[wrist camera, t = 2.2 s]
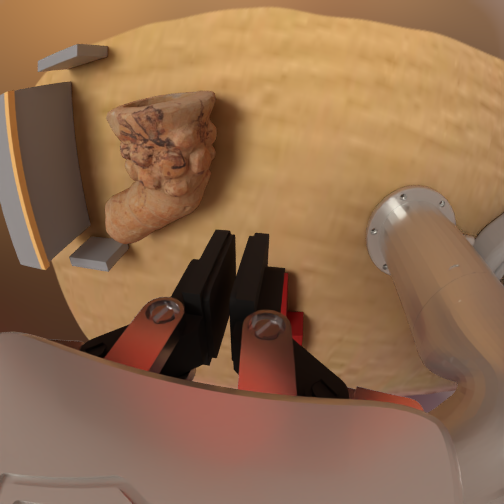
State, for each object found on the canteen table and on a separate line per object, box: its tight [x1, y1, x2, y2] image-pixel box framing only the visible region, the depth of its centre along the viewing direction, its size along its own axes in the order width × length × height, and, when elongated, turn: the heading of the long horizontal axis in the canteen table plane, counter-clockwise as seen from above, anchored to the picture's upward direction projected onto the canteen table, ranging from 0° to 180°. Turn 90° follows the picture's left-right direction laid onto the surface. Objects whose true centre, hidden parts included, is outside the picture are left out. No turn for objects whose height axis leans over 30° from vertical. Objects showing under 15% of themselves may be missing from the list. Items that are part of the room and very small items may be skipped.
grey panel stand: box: [0, 44, 129, 272], centre depth 28 cm, size 12×29×12 cm, turn 179°
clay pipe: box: [105, 91, 217, 244], centre depth 29 cm, size 19×11×15 cm
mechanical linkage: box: [281, 273, 303, 346], centre depth 40 cm, size 16×7×5 cm, turn 3°
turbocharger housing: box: [473, 213, 504, 286], centre depth 30 cm, size 17×6×15 cm
